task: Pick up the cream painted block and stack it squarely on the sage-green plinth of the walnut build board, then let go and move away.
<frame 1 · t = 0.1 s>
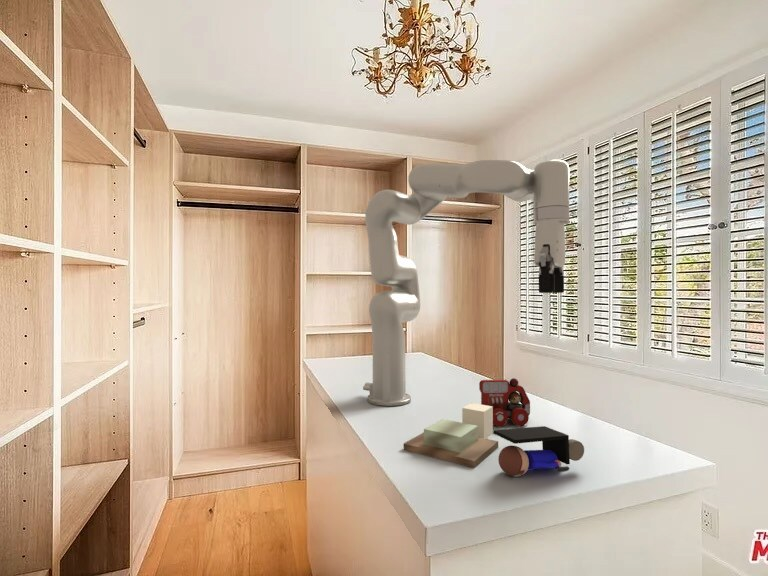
hand: (551, 292, 95), 31 cm above the closet island, tool pointing down, fingers open, 9 cm apart
cream block: (477, 434, 92), on the closet island
toy fire truck: (505, 423, 101), on the closet island
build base: (451, 448, 84), on the closet island
figurine character: (537, 471, 74), on the closet island
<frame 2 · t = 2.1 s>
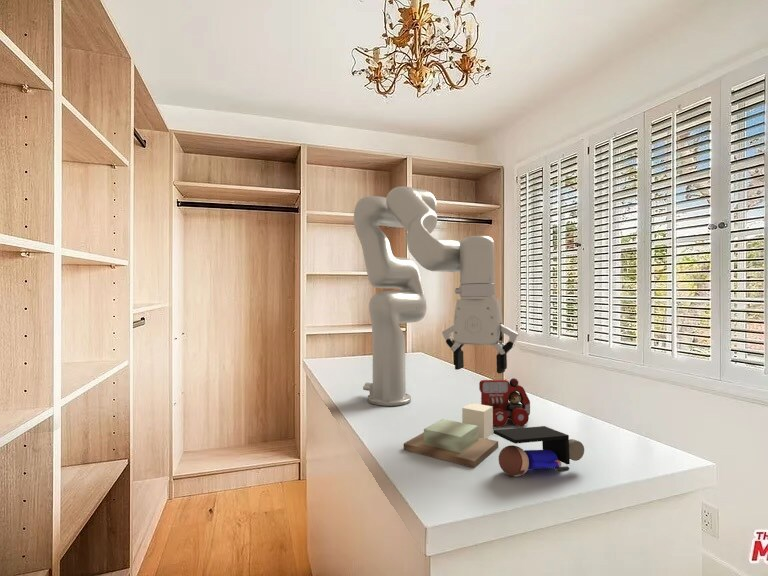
hand: (479, 370, 92), 14 cm above the closet island, tool pointing down, fingers open, 9 cm apart
nothing on the closet island moved.
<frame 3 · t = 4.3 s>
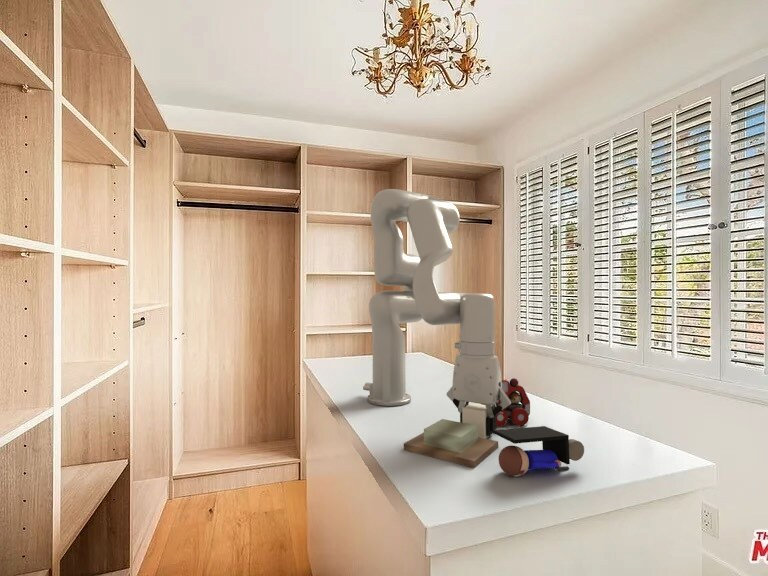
hand: (477, 431, 92), 1 cm above the closet island, tool pointing down, fingers closed on cream block, 5 cm apart
cream block: (477, 434, 92), on the closet island, touching gripper
everything else where it was.
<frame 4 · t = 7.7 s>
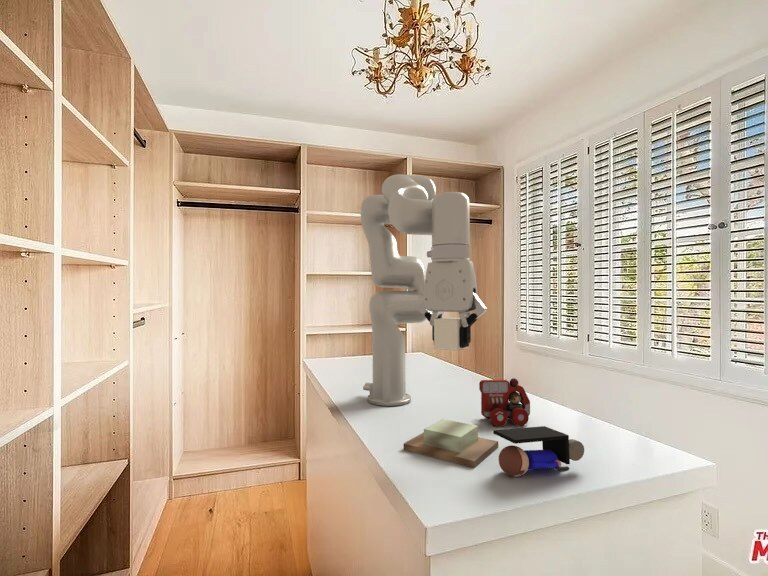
hand: (451, 345, 84), 21 cm above the closet island, tool pointing down, fingers closed on cream block, 5 cm apart
cream block: (451, 348, 84), point 20 cm above the closet island, touching gripper
everything else where it was.
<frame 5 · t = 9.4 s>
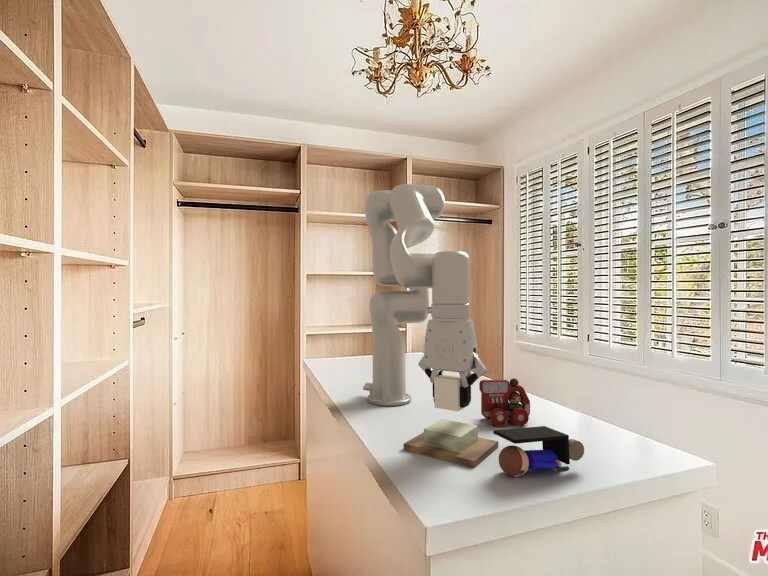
hand: (451, 403, 84), 9 cm above the closet island, tool pointing down, fingers closed on cream block, 5 cm apart
cream block: (451, 406, 84), point 8 cm above the closet island, touching gripper
everything else where it was.
when the fingers open (6 cm above the closet island, at t = 11.0 s): cream block drops 1 cm, resting on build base.
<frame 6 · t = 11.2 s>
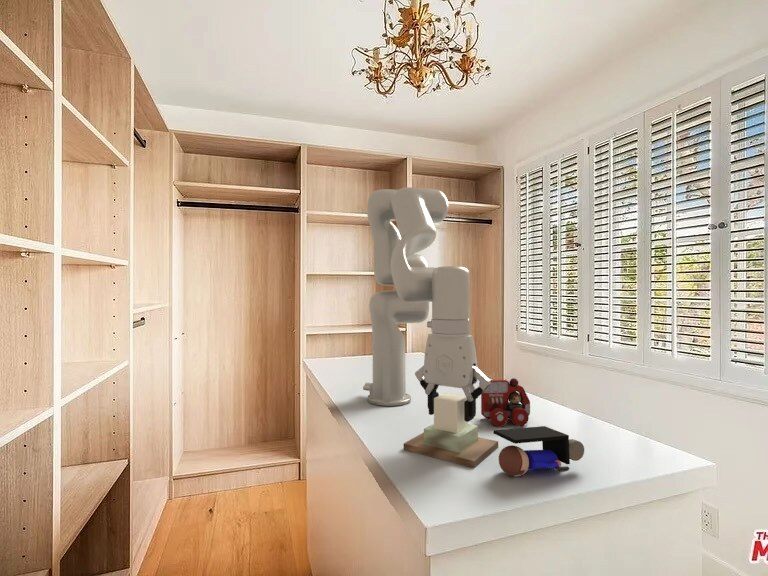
hand: (451, 415, 84), 6 cm above the closet island, tool pointing down, fingers open, 7 cm apart
cream block: (450, 427, 84), point 4 cm above the closet island, touching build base
everything else where it was.
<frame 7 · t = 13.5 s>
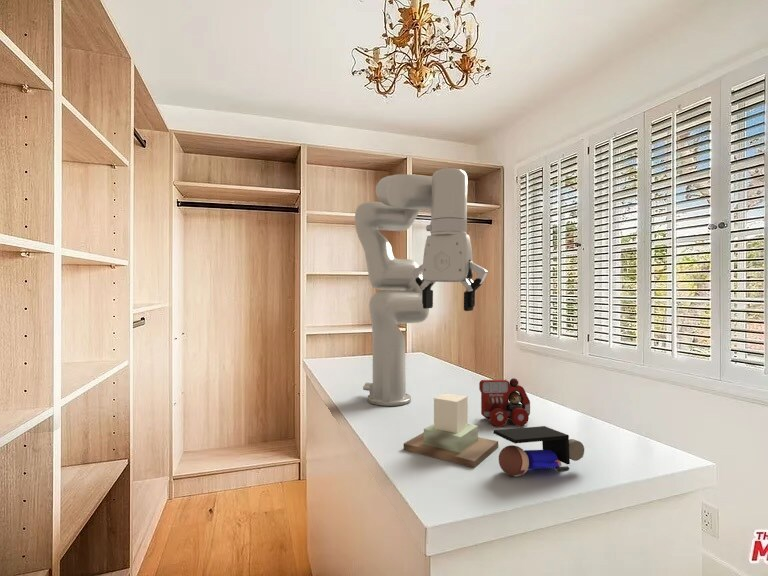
hand: (447, 309, 90), 28 cm above the closet island, tool pointing down, fingers open, 9 cm apart
nothing on the closet island moved.
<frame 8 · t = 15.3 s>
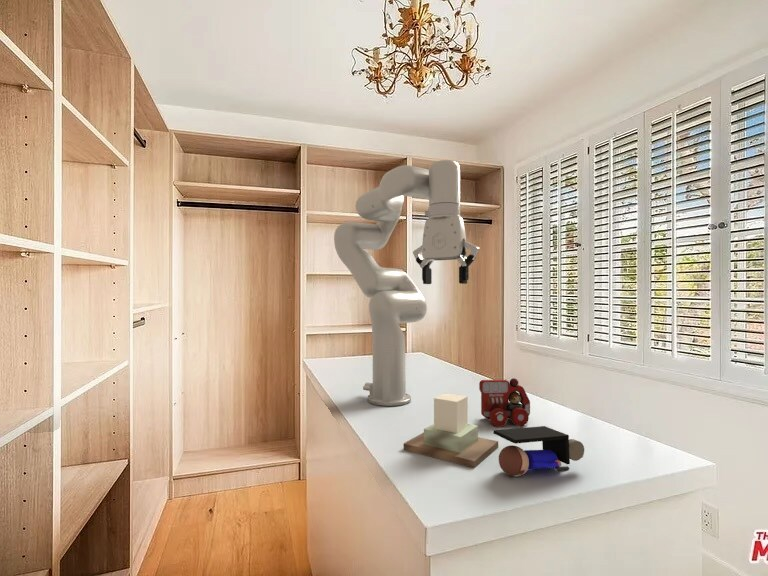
hand: (444, 283, 102), 33 cm above the closet island, tool pointing down, fingers open, 9 cm apart
nothing on the closet island moved.
at the end: cream block inside the target area on the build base (0.1 cm from its centre), point 4.2 cm above the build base's base; cream block tilted 0°; the gripper is holding nothing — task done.
